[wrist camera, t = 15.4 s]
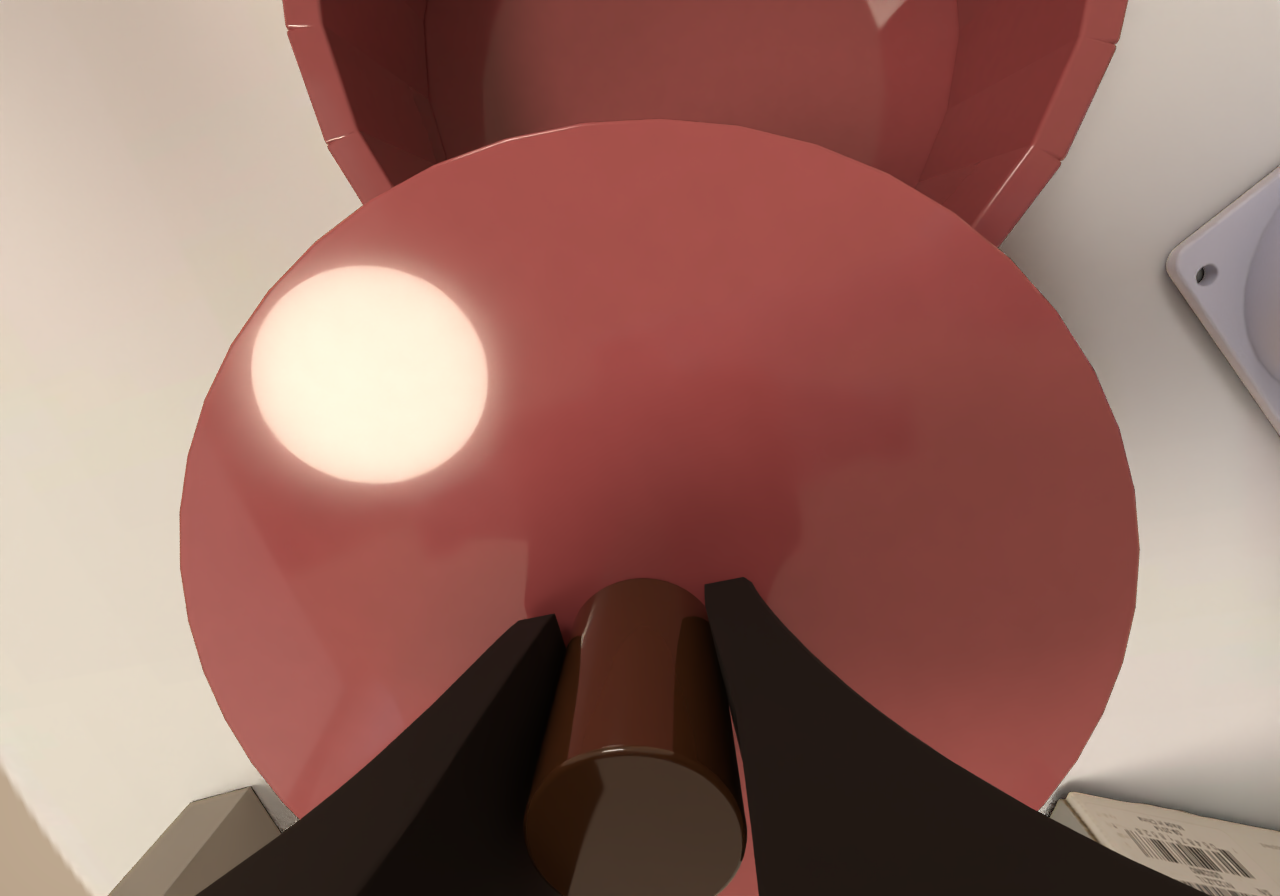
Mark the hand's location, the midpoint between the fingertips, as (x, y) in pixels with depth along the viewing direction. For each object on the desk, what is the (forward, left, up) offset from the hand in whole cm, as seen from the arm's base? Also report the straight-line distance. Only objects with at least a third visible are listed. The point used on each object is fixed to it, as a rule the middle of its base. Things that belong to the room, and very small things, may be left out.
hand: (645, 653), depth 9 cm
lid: (0, 0, -1) cm, 1 cm away
